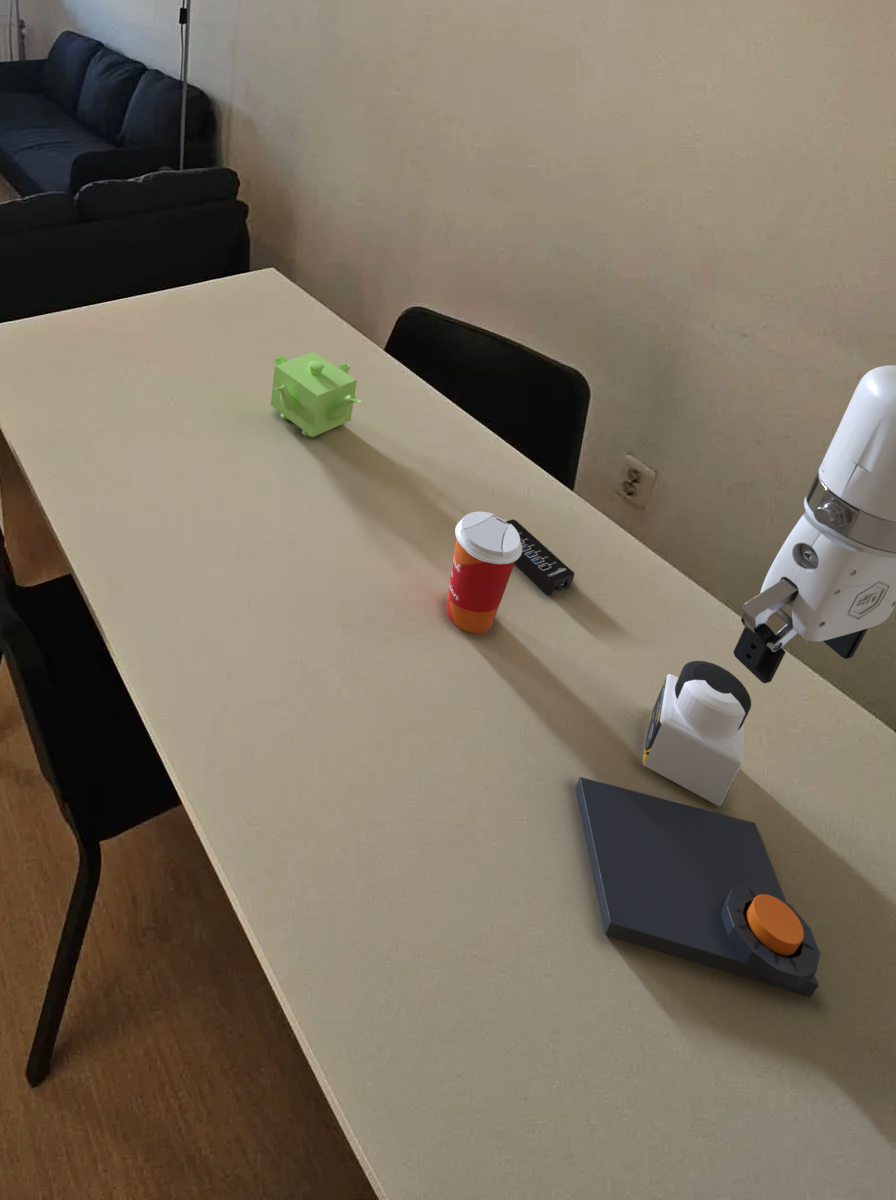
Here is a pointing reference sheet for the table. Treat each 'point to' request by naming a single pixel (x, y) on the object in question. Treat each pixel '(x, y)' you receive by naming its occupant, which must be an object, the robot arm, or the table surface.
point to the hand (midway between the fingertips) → (791, 656)
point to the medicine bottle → (698, 730)
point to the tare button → (775, 924)
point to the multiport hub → (541, 564)
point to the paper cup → (480, 569)
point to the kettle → (313, 393)
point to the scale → (686, 884)
